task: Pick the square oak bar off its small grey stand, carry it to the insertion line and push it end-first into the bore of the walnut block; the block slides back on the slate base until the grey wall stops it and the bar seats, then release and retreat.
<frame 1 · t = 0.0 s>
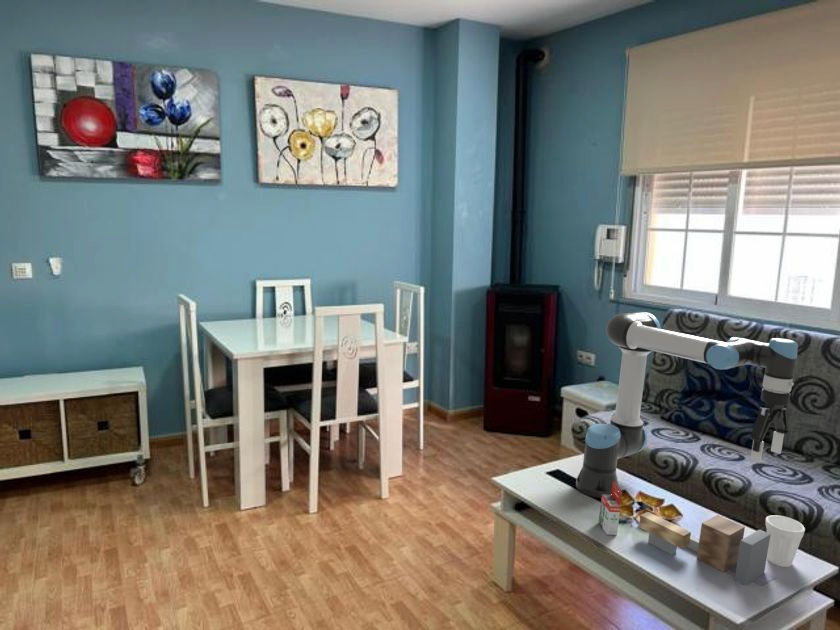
hand: (765, 456, 187), 28 cm above the table, fingers open, 13 cm apart
pedestal: (661, 551, 183), on the table
bar: (663, 535, 182), point 5 cm above the table, touching pedestal
block: (720, 542, 176), point 7 cm above the table, slide at 0.0 cm
base: (710, 560, 179), on the table
ink box: (607, 529, 195), on the table
cup: (778, 565, 179), on the table
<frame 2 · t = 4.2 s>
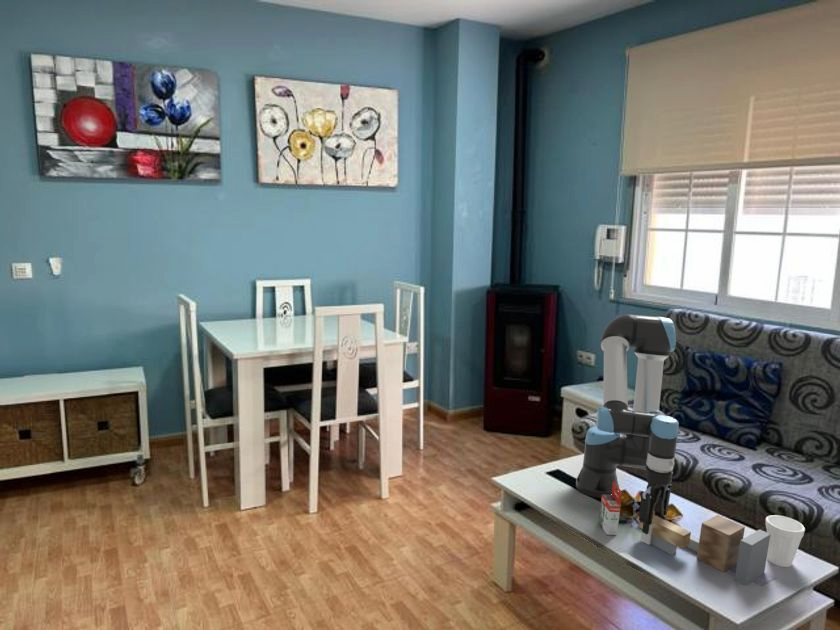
hand: (650, 540, 186), 2 cm above the table, fingers closed on bar, 4 cm apart
bar: (663, 535, 182), point 5 cm above the table, touching gripper, pedestal
everything else where it was.
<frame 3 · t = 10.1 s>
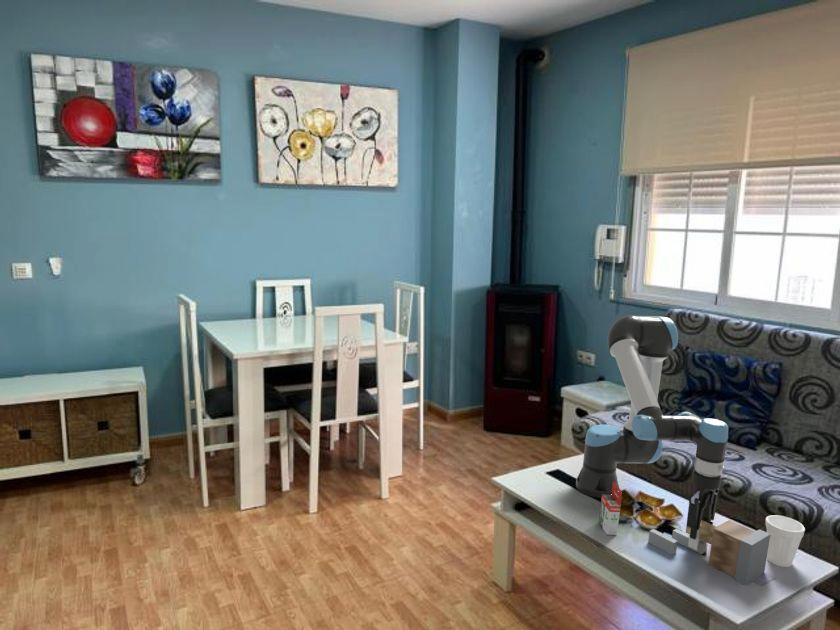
hand: (697, 545, 182), 3 cm above the table, fingers closed on bar, 4 cm apart
bar: (711, 541, 179), point 6 cm above the table, touching block, gripper
block: (732, 548, 174), point 7 cm above the table, slide at 3.5 cm, touching bar, base
everything else where it was.
when the fingers open (3 cm above the table, at t = 11.0 s): bar drops 2 cm, resting on base, block.
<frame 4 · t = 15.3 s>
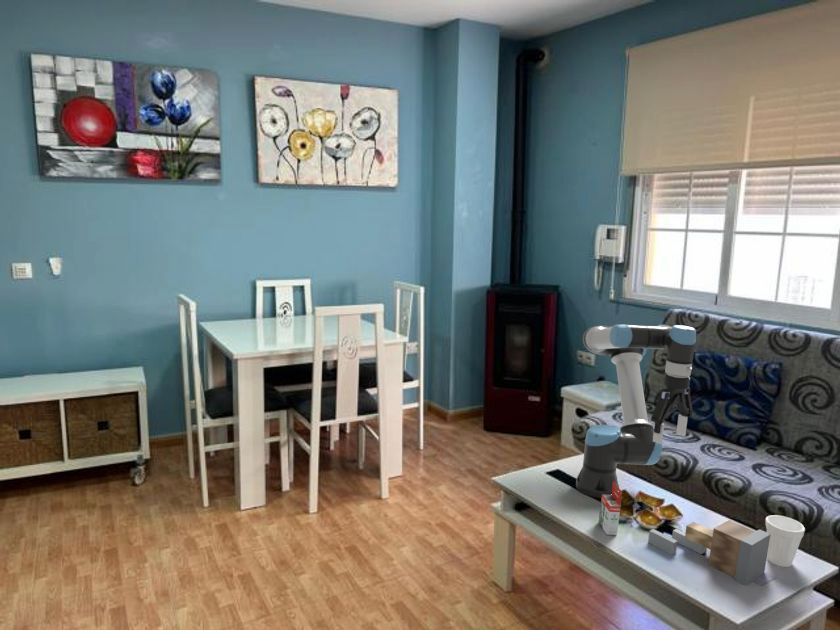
hand: (669, 438, 196), 29 cm above the table, fingers open, 13 cm apart
bar: (711, 546, 179), point 4 cm above the table, touching base, block
everything else where it was.
at the end: block slide at 3.5 cm; bar 0.5 cm from the target spot on the block, point 3.2 cm above the block's base; the gripper is holding nothing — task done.
